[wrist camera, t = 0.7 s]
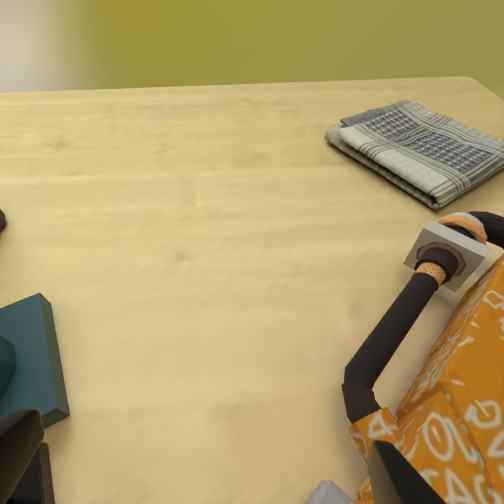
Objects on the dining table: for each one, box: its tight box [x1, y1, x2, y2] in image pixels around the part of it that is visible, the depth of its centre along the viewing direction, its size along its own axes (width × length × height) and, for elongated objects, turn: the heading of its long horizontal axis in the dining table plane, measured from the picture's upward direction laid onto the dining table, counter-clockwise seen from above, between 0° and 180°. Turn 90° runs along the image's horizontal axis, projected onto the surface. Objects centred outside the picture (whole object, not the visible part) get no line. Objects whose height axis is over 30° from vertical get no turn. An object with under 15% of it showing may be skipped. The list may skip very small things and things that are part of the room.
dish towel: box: [324, 100, 504, 209], centre depth 39 cm, size 19×18×3 cm
